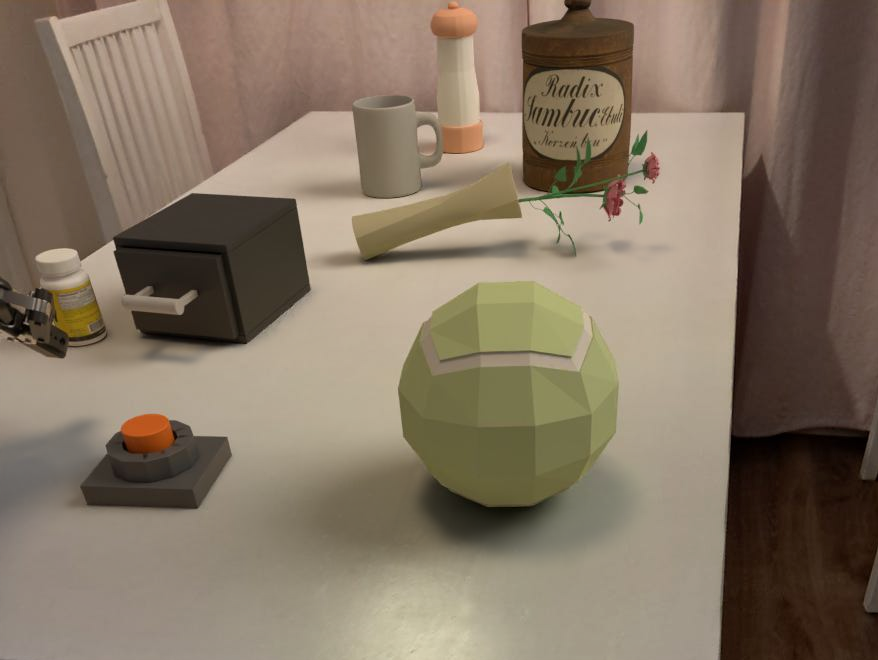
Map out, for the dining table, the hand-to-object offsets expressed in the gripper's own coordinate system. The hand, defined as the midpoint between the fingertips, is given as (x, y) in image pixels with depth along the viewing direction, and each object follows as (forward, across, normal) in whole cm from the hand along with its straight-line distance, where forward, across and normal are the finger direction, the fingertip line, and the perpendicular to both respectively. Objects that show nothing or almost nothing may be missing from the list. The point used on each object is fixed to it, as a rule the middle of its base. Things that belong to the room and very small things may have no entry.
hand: (60, 346), depth 77 cm
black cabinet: (+23, 0, +13) cm, 26 cm away
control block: (0, +12, -10) cm, 16 cm away
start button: (-2, +12, -8) cm, 15 cm away
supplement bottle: (+16, -12, +6) cm, 21 cm away
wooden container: (+61, +25, +51) cm, 83 cm away
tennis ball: (+4, +40, -6) cm, 40 cm away
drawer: (+19, 0, +11) cm, 22 cm away
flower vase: (+39, +24, +29) cm, 54 cm away
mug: (+55, +2, +45) cm, 71 cm away
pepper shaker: (+71, +3, +61) cm, 93 cm away
